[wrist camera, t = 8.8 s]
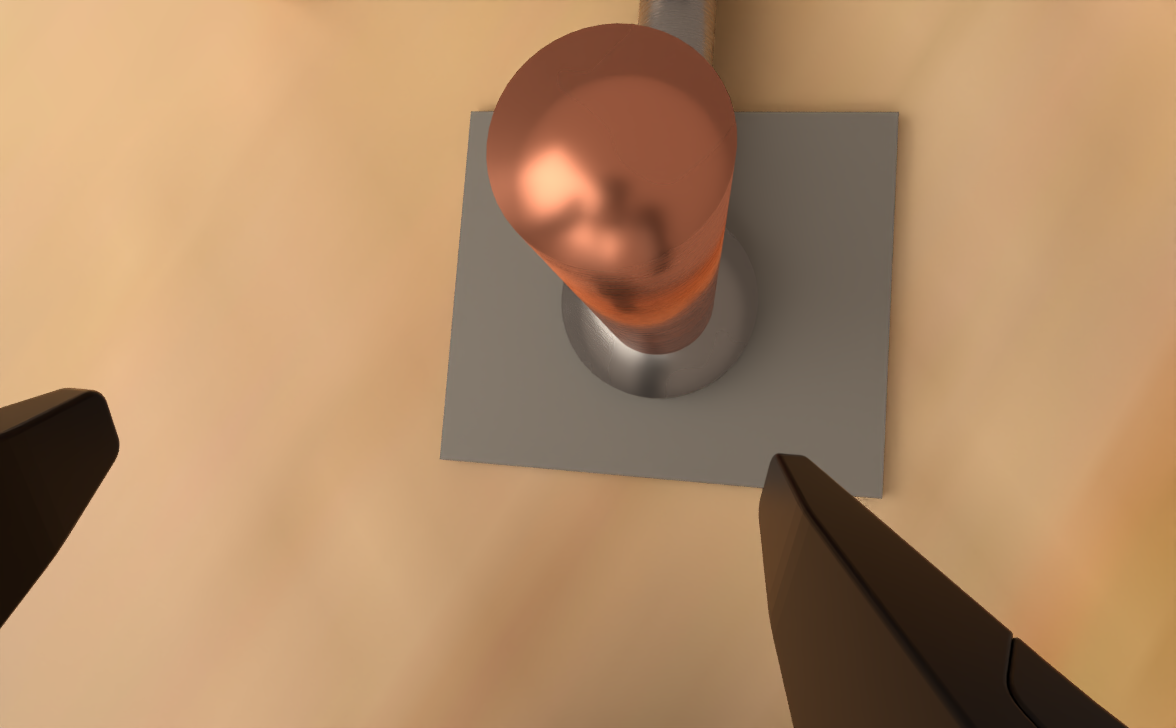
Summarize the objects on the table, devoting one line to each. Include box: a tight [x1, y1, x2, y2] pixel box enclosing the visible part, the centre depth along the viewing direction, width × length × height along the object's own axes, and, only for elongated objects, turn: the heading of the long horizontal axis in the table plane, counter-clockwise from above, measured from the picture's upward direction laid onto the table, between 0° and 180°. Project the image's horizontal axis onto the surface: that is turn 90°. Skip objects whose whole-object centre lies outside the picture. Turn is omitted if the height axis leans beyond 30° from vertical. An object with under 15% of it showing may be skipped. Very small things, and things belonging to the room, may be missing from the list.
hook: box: [486, 0, 758, 399], centre depth 16 cm, size 17×6×13 cm, turn 176°
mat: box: [440, 112, 899, 499], centre depth 22 cm, size 12×14×1 cm
